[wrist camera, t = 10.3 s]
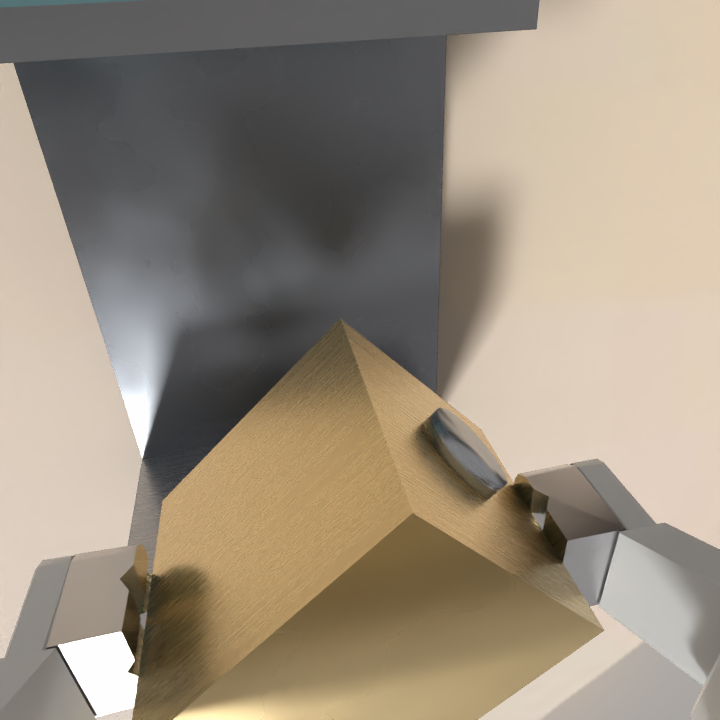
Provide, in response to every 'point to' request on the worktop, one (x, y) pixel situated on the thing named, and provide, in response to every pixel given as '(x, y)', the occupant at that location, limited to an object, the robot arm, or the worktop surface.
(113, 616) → the robot arm
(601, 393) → the worktop surface
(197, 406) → the press bed
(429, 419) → the tan short block
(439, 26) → the block
